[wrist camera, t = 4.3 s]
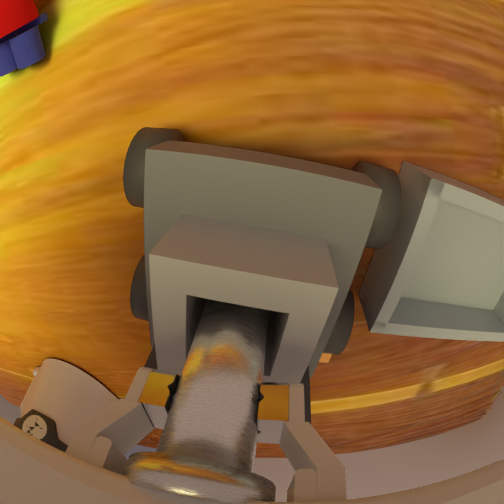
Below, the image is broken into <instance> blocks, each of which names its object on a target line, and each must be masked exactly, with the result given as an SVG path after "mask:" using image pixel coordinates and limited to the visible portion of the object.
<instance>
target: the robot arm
mask: <svg viewBox="0 0 504 504" xmlns="http://www.w3.org/2000/svg"><path fill="white" fill-rule="evenodd" d="M33 374H34V376H35V377H34V379H33V381H32V383H31V385H30V387H29V389H28V391H27V393H26V395H25V397H24V399H23V402H22V404H21V406H20V410H21V418H17V419H16V421H15V423H14V424H13V425H12V424H11V423H9V422H7V421H6V420H4V419H3V418H1V417H0V504H225V503H218V502H211V501H204V500H199V499H193V498H188V497H183V496H178V495H174V494H169V493H165V492H161V491H157V490H153V489H150V488H146V487H142V486H139V485H136V484H132V483H130V481H129V479H128V477H127V476H124V475H123V473H124V470H125V467H126V464H127V461H128V460H127V459H126V458H125V456H124V455H125V454H126V453H127V452H128V451H129V450H130V449H132V448H133V447H134V446H135V445H136V444H137V443H139V442H140V441H141V440H142V439H143V438H144V437H145V436H147V435H148V434H149V433H150V432H151V431H152V430H153V429H154V428H159V429H164V426H165V422H166V419H167V416H168V413H169V410H170V407H171V404H172V401H173V398H174V395H175V392H176V389H177V386H178V383H179V380H180V374H179V373H173V372H167V371H162V370H157V369H152V368H147V367H140V368H139V369H138V371H137V373H136V375H135V377H134V379H133V382H132V384H131V386H130V388H129V390H128V393H127V395H126V397H125V399H123V398H121V399H118V398H116V397H115V396H114V395H113V394H112V393H111V392H110V391H109V390H108V389H106V388H105V387H104V386H103V385H102V384H100V383H99V382H98V381H97V380H95V379H94V378H93V377H91V376H90V375H88V374H87V373H85V372H83V371H82V370H80V369H78V368H77V367H75V366H73V365H71V364H69V363H66V362H64V361H61V360H57V359H46V360H44V361H43V363H42V365H41V367H36V368H35V369H34V371H33ZM257 429H258V434H257V442H260V443H273V444H280V447H281V448H282V450H283V452H284V453H285V455H286V457H287V458H288V460H289V461H290V463H291V465H292V466H293V468H294V470H295V471H296V472H295V474H294V477H293V479H292V481H291V484H290V486H289V488H288V490H287V502H266V501H250V502H247V503H246V504H504V460H500V461H497V462H495V463H492V464H490V465H487V466H485V467H482V468H480V469H477V470H474V471H472V472H469V473H466V474H463V475H460V476H457V477H454V478H451V479H448V480H445V481H442V482H438V483H434V484H431V485H427V486H423V487H419V488H415V489H410V490H406V491H401V492H396V493H391V494H385V495H379V496H373V497H366V498H358V499H348V500H346V480H345V466H344V465H343V464H342V463H341V462H340V460H339V459H338V458H337V457H336V455H335V454H334V453H333V452H332V451H331V449H330V448H329V447H328V446H327V444H326V443H325V442H324V441H323V439H322V438H321V437H320V436H319V434H318V433H317V432H316V430H315V429H314V428H313V427H312V425H311V424H310V423H309V422H305V405H304V385H303V384H301V383H275V382H261V388H260V402H259V408H258V419H257Z"/></svg>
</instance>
